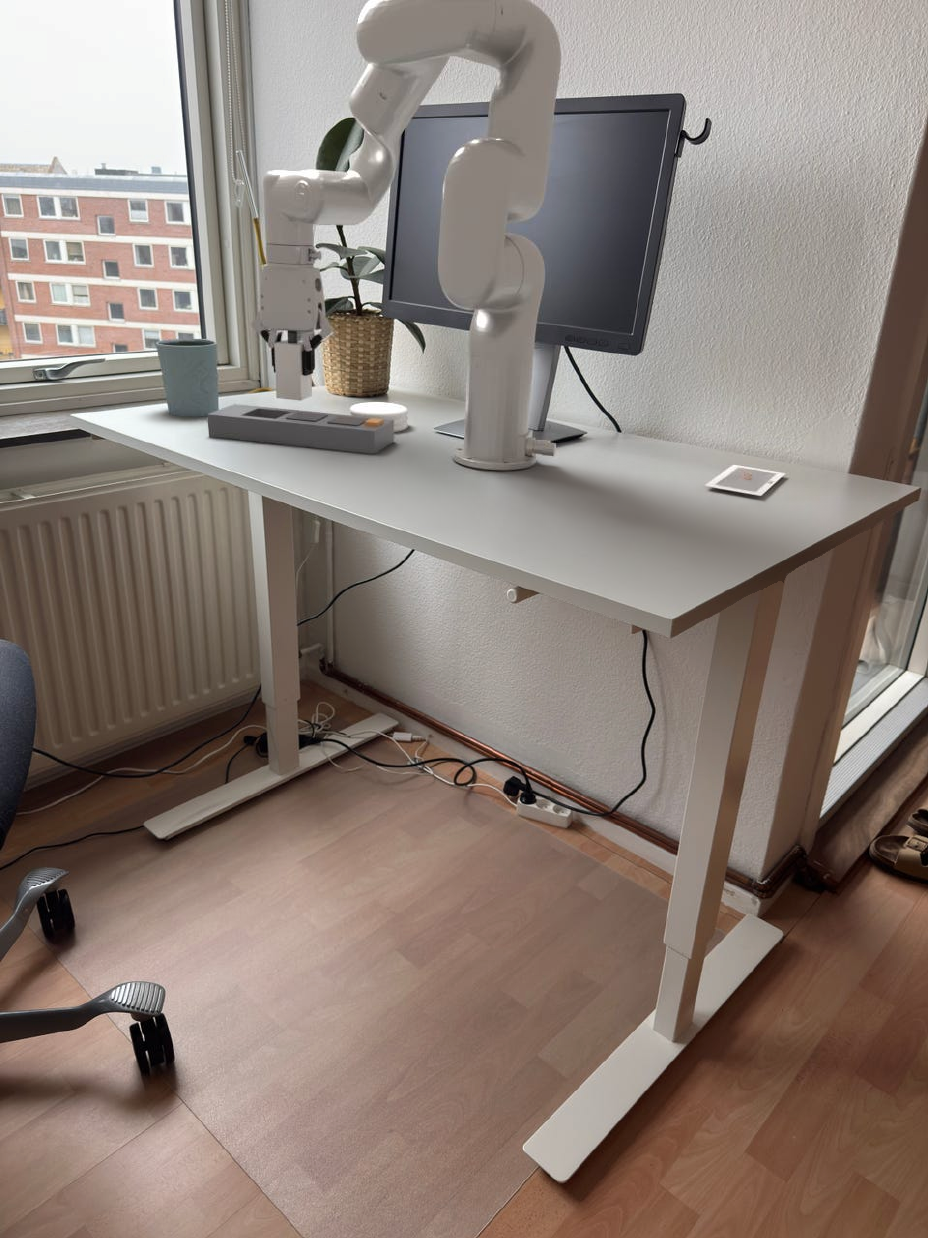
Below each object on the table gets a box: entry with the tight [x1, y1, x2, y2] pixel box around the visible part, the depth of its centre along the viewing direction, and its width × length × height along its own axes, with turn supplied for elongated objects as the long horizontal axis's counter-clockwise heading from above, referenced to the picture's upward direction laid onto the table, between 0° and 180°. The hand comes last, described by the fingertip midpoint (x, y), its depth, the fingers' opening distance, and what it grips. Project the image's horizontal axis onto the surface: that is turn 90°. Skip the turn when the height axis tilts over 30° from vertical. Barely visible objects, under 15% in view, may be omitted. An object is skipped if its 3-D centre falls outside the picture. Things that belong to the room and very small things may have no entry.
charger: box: [274, 331, 313, 401], centre depth 149 cm, size 4×4×11 cm
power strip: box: [206, 403, 395, 455], centre depth 141 cm, size 28×9×4 cm, turn 75°
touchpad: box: [704, 464, 786, 497], centre depth 128 cm, size 8×15×2 cm, turn 149°
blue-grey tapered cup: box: [155, 338, 220, 418], centre depth 155 cm, size 10×10×12 cm
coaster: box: [349, 401, 409, 433], centre depth 152 cm, size 10×10×4 cm
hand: (293, 371), depth 149 cm, fingers closed on charger, 4 cm apart
